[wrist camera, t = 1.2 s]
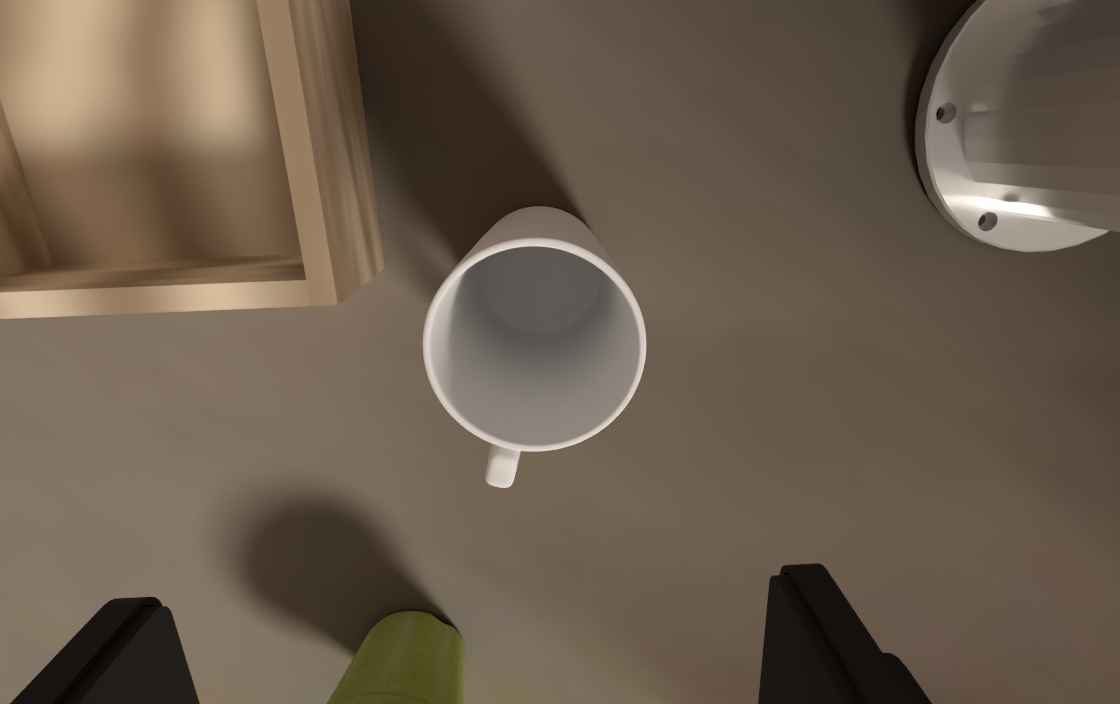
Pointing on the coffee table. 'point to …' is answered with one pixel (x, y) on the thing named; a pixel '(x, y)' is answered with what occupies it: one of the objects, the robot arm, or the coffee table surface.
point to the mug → (534, 338)
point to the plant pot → (406, 664)
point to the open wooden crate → (182, 157)
